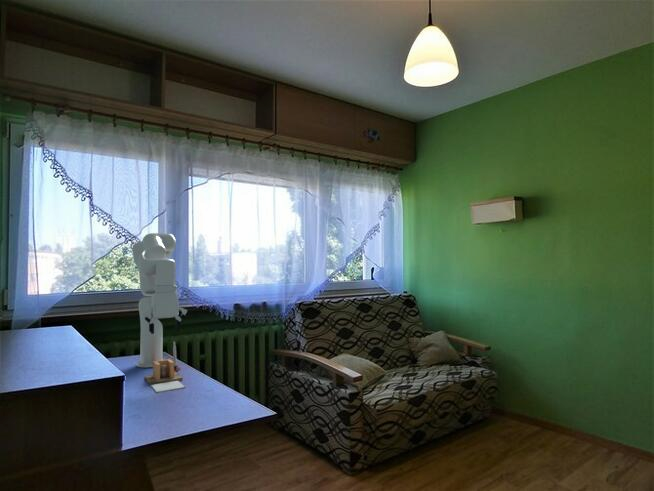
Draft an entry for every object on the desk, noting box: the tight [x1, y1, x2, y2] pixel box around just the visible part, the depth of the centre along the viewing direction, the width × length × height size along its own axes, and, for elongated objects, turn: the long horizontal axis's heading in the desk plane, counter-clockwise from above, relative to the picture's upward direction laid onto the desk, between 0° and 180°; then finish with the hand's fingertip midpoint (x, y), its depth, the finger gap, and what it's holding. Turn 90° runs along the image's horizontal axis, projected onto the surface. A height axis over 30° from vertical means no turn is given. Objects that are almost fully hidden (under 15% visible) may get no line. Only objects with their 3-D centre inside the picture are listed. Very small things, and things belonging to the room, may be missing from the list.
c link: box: [152, 358, 174, 380], centre depth 169 cm, size 7×7×6 cm
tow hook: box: [172, 341, 181, 373], centre depth 181 cm, size 8×13×9 cm
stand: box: [144, 365, 184, 386], centre depth 169 cm, size 12×12×6 cm
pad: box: [150, 381, 186, 393], centre depth 158 cm, size 10×10×1 cm
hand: (164, 332), depth 168 cm, fingers open, 9 cm apart
